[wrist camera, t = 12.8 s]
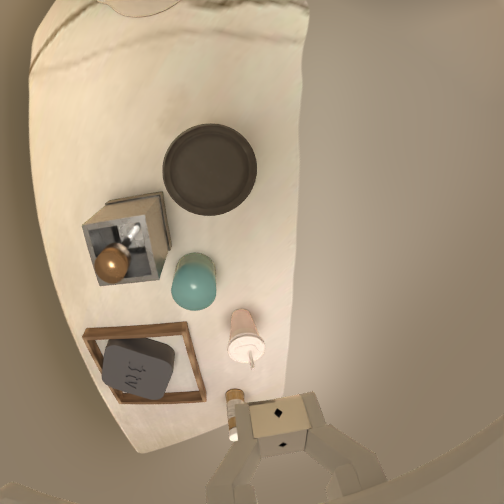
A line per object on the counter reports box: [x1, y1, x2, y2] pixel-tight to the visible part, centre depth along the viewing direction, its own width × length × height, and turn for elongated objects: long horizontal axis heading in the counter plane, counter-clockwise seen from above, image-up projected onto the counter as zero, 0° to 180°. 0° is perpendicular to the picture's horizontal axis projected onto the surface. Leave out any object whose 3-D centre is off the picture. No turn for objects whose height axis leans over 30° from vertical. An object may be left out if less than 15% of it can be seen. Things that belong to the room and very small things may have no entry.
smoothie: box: [227, 309, 265, 370], centre depth 49 cm, size 6×6×14 cm
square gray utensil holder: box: [82, 192, 172, 286], centre depth 40 cm, size 9×9×12 cm
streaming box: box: [102, 338, 175, 400], centre depth 56 cm, size 14×14×5 cm
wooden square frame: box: [82, 322, 206, 404], centre depth 57 cm, size 23×23×3 cm
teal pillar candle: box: [171, 253, 216, 311], centre depth 47 cm, size 7×7×7 cm
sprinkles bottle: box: [226, 389, 244, 442], centre depth 59 cm, size 5×5×14 cm
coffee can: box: [163, 124, 257, 216], centre depth 37 cm, size 10×10×14 cm
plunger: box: [94, 222, 145, 284], centre depth 37 cm, size 6×6×14 cm
